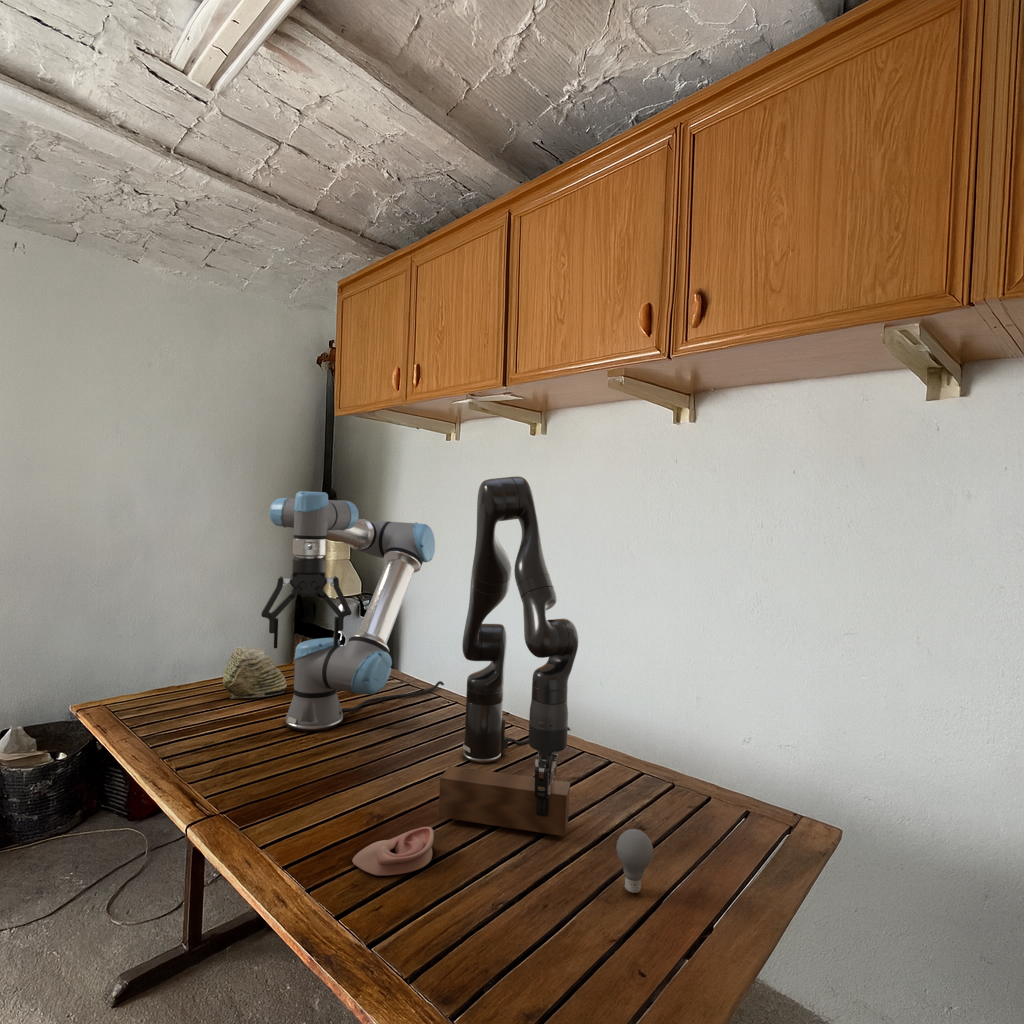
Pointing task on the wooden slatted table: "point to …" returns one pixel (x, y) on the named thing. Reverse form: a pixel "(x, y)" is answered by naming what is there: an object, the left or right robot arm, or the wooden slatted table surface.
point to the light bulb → (634, 857)
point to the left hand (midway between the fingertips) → (306, 645)
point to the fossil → (252, 674)
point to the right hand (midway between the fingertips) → (544, 807)
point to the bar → (501, 800)
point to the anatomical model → (397, 853)
